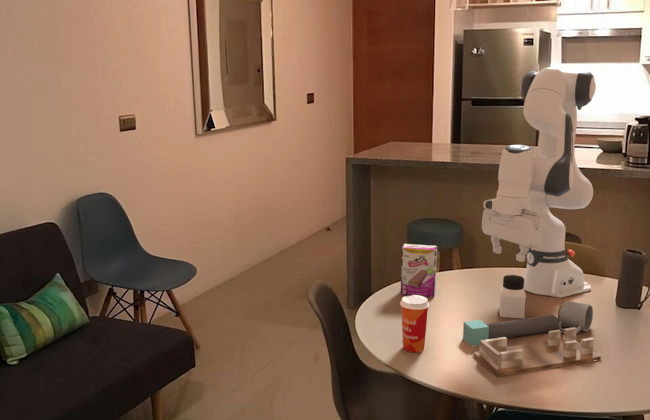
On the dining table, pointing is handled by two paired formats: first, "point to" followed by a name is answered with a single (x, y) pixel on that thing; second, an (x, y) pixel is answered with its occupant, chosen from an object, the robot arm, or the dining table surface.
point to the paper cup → (414, 322)
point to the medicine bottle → (512, 297)
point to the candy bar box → (418, 270)
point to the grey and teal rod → (507, 328)
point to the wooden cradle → (535, 353)
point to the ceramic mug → (575, 316)
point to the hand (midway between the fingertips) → (508, 257)
